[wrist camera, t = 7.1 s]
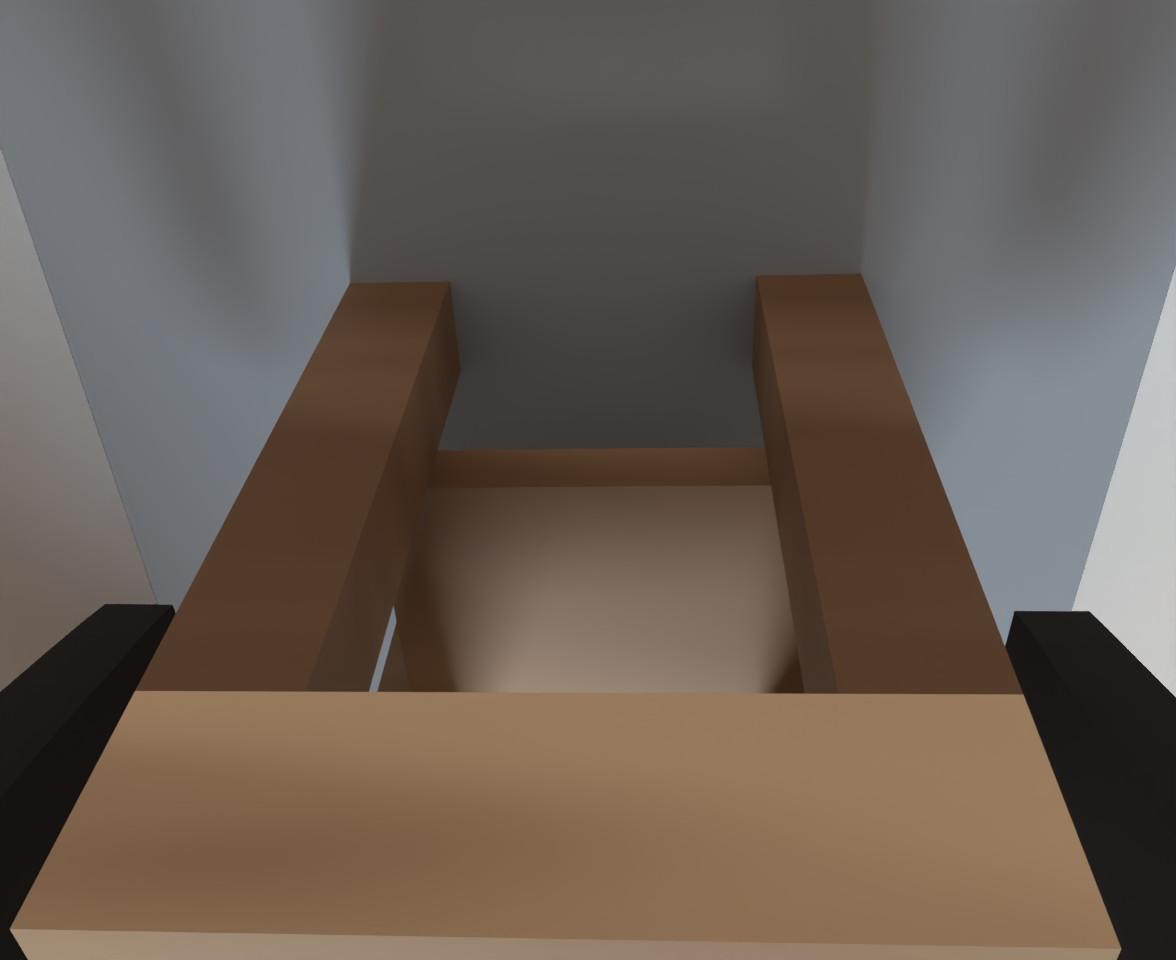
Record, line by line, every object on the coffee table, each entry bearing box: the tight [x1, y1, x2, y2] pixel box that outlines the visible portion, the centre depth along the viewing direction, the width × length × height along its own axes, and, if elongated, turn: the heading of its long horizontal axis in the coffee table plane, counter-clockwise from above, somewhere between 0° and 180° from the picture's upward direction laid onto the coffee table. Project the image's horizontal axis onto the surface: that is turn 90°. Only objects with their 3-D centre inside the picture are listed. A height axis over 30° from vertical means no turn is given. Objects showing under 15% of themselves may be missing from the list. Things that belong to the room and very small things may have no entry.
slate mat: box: [0, 0, 1176, 692], centre depth 12 cm, size 14×11×1 cm
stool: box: [10, 274, 1121, 960], centre depth 9 cm, size 5×5×7 cm
